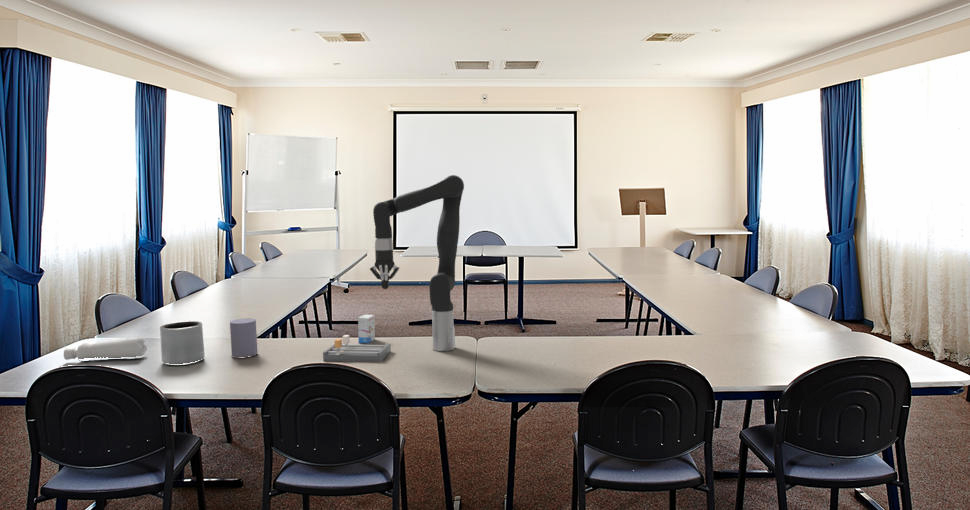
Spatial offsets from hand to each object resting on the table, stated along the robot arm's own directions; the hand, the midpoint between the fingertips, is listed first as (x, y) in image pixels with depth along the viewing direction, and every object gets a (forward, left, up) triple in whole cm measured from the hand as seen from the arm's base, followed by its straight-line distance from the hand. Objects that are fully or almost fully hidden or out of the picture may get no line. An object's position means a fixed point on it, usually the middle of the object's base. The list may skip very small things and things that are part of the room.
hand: (385, 288), depth 276 cm
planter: (+80, +23, -27) cm, 88 cm away
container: (+59, +12, -27) cm, 66 cm away
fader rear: (+16, +6, -24) cm, 30 cm away
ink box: (+14, -16, -27) cm, 35 cm away
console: (+10, +10, -27) cm, 30 cm away
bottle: (+115, +23, -27) cm, 120 cm away
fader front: (+17, +13, -24) cm, 33 cm away
